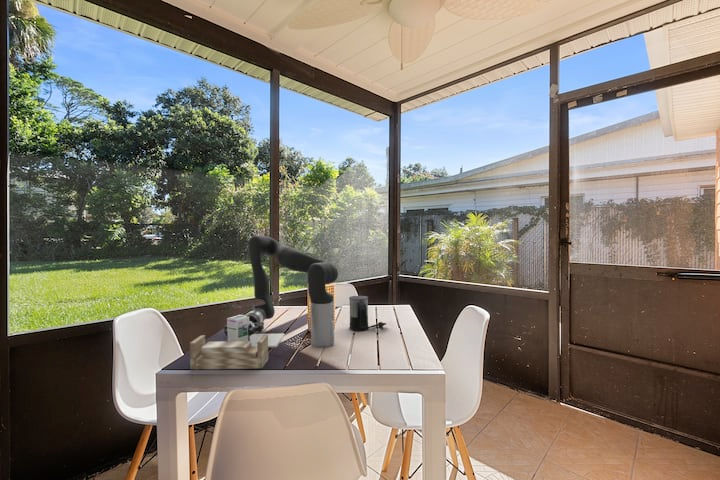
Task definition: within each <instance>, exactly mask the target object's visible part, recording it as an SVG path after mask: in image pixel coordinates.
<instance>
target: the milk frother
mask: <svg viewBox="0 0 720 480" xmlns="http://www.w3.org/2000/svg"><path fill="white" fill-rule="evenodd" d="M348 299H349V330H351V331H356V332H360V331H367V330H369V329H370V328H375V327H378V328H380V329H382V328H383V327H384V326H386V325H387V323H386V322H383V321H382V322H381V321H380V322H378V323H377V324H373V325H370V326H369V316H368V315H369V312H368V311H369V306H368V305H369V303H368V301H369V296H366V295H353V296H349V297H348Z"/></svg>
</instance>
